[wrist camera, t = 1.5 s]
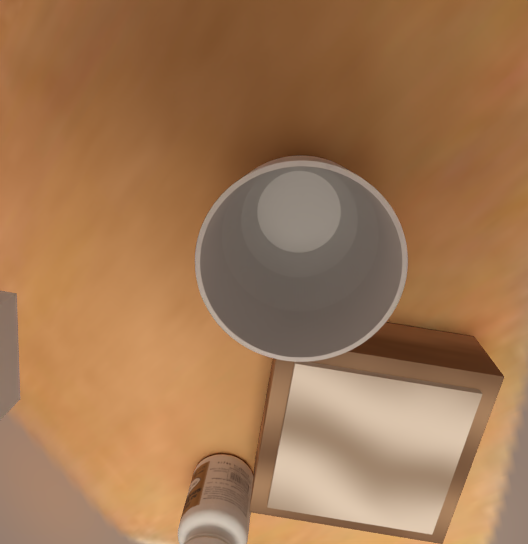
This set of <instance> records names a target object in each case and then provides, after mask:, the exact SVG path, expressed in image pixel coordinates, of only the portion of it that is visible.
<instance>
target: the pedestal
mask: <svg viewBox="0 0 528 544" xmlns="http://www.w3.org/2000/svg"><path fill="white" fill-rule="evenodd" d="M503 379H504V376H503V374H502V373H501V372H500V370H499V369H498V368H497V366H496V365H495V364H494V362H493V361H492V360H491V358H490V357H489V356H488V354H487V353H486V352H485V350H484V349H483V348H482V346H481V345H480V344H479V342H478V341H477V340H476V338H475V337H474V336H468V335H461V334H455V333H449V332H443V331H437V330H430V329H424V328H418V327H412V326H406V325H399V324H393V323H387V322H385V324H384V325H383V326H382V327H381V328H380V329H379V330H378V331H377V332H376V333H375V334H374V335H373V336H372V337H370V338H369V339H368V340H366V341H365V342H364V343H362V344H361V345H359V346H357V347H356V348H354V349H352V350H350V351H348V352H346V353H343V354H341V355H338V356H335V357H332V358H328V359H323V360H318V361H309V362H293V361H284V360H279V359H274V358H273V361H272V367H271V372H270V378H269V384H268V389H267V395H266V401H265V407H264V412H263V418H262V424H261V429H260V435H259V441H258V447H257V452H256V458H255V466H254V475H253V483H252V492H251V501H250V509H249V512H252V513H258V514H265V515H271V516H277V517H283V518H289V519H295V520H301V521H307V522H313V523H319V524H325V525H331V526H337V527H343V528H349V529H355V530H361V531H367V532H373V533H379V534H385V535H391V536H398V537H404V538H410V539H416V540H422V541H428V542H434V543H440V544H443V541H444V538H445V536H446V533H447V530H448V527H449V525H450V522H451V519H452V517H453V514H454V511H455V509H456V506H457V503H458V500H459V498H460V495H461V492H462V490H463V487H464V484H465V482H466V479H467V476H468V473H469V471H470V468H471V465H472V463H473V460H474V457H475V455H476V452H477V449H478V446H479V444H480V441H481V438H482V436H483V433H484V430H485V428H486V425H487V422H488V419H489V417H490V414H491V411H492V409H493V406H494V403H495V401H496V398H497V395H498V392H499V390H500V387H501V384H502V382H503Z"/></svg>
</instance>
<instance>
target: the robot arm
mask: <svg viewBox="0 0 528 544" xmlns="http://www.w3.org/2000/svg"><path fill="white" fill-rule="evenodd" d="M19 400H20V378H19V348H18V319H17V293H11V292H5V291H0V420H1V419H2V418H3V417H4V416H5V415H6V414H7V413H8V412H9V410H10V409H11V408H12V407H13V406H14V405H15V404H16V403H17V402H18V401H19Z"/></svg>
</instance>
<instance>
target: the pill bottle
mask: <svg viewBox="0 0 528 544" xmlns="http://www.w3.org/2000/svg"><path fill="white" fill-rule="evenodd" d="M252 483H253V474H252V471H251V469H250V468H249V467H248V466H247V464H246V463H244V462H243V461H242V460H240V459H239V458H237V457H234V456H231V455H224V454H219V455H213V456H210V457H207V458H205V459H204V460H202V461H201V462H200V463H199V464H198V465H197V467H196V468H195V471H194V474H193V477H192V481H191V485H190V488H189V492H188V495H187V499H186V503H185V506H184V510H183V513H182V517H181V520H180V524H179V528H178V540H179V544H247V540H248V531H249V522H250V514H251V512H249V509H250V501H251V492H252Z"/></svg>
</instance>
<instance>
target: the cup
mask: <svg viewBox="0 0 528 544" xmlns="http://www.w3.org/2000/svg"><path fill="white" fill-rule="evenodd" d="M407 268H408V253H407V245H406V240H405V236H404V233H403V229H402V227H401V224H400V222H399V220H398V218H397V216H396V214H395V212H394V210H393V209H392V207H391V206H390V204H389V203H388V202H387V200H386V199H385V198H384V197H383V196H382V195H381V194H380V193H379V192H378V191H377V190H376V189H375V188H374V187H373V186H372V185H371V184H369V183H368V182H367V181H365V180H364V179H362V178H361V177H359V176H358V175H356V174H354V173H353V172H351V171H349V170H348V169H346V168H345V167H343V166H341V165H339V164H337V163H335V162H332V161H330V160H327V159H323V158H319V157H314V156H304V155H298V156H287V157H282V158H278V159H275V160H272V161H269V162H267V163H265V164H262V165H261V166H259V167H257V168H255V169H254V170H252V171H251V172H249V173H248V174H247V175H245V176H244V177H242V178H241V179H239V180H238V181H237V182H235V183H234V184H233V185H232V186H230V187H229V188H228V189H227V190H226V191H225V192H224V193H223V194H222V195H221V196H220V197H219V198H218V200H217V201H216V202H215V203H214V205H213V206H212V208H211V209H210V211H209V212H208V214H207V216H206V218H205V220H204V222H203V224H202V227H201V229H200V232H199V236H198V240H197V244H196V251H195V272H196V279H197V283H198V287H199V291H200V294H201V296H202V299H203V301H204V303H205V305H206V307H207V309H208V311H209V312H210V314H211V315H212V317H213V318H214V320H215V321H216V322H217V323H218V325H219V326H220V327H221V328H222V329H223V330H224V331H225V332H226V333H227V334H228V335H229V336H231V337H232V338H233V339H234V340H236V341H237V342H238V343H240V344H241V345H243V346H245V347H246V348H248V349H250V350H252V351H254V352H256V353H259V354H261V355H264V356H267V357H270V358H274V359H279V360H284V361H293V362H309V361H318V360H323V359H328V358H332V357H335V356H338V355H341V354H343V353H346V352H348V351H350V350H352V349H354V348H356V347H357V346H359V345H361V344H362V343H364V342H365V341H366V340H368V339H369V338H370V337H372V336H373V335H374V334H375V333H376V332H377V331H378V330H379V329H380V328H381V327H382V326H383V325H384V324H385V322H386V321H387V320H388V319H389V317H390V316H391V314H392V313H393V311H394V310H395V308H396V306H397V304H398V302H399V300H400V297H401V295H402V292H403V289H404V286H405V282H406V276H407Z"/></svg>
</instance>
